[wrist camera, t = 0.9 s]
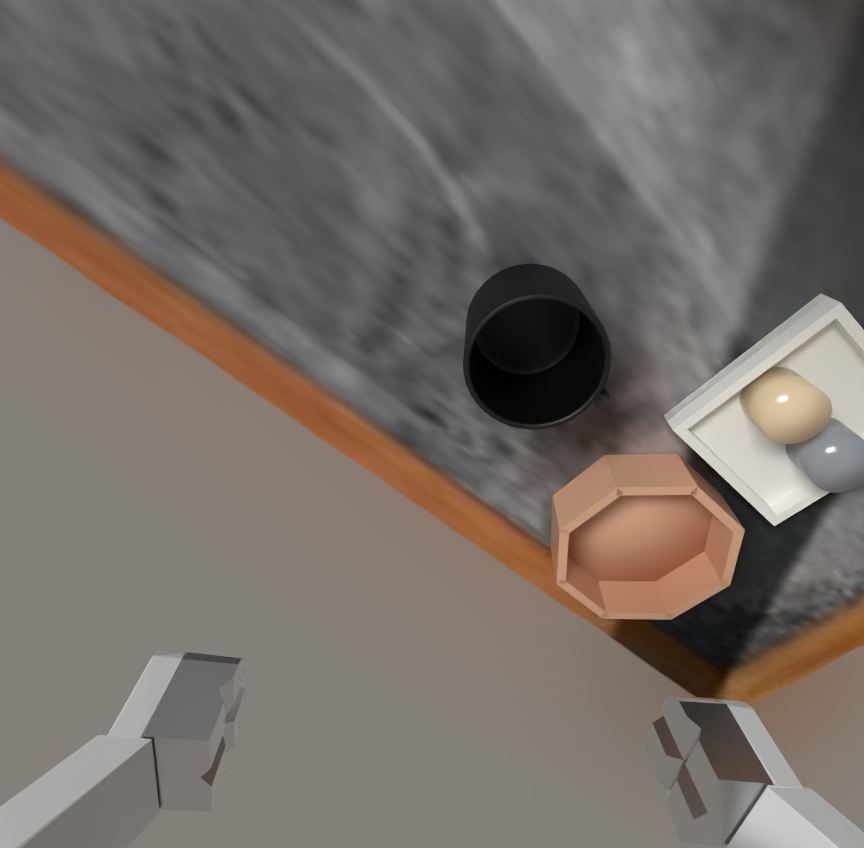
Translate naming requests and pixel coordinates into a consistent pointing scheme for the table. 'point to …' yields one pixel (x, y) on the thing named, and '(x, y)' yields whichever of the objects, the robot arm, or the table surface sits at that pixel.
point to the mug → (534, 349)
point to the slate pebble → (831, 458)
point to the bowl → (642, 537)
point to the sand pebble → (786, 405)
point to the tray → (743, 439)
